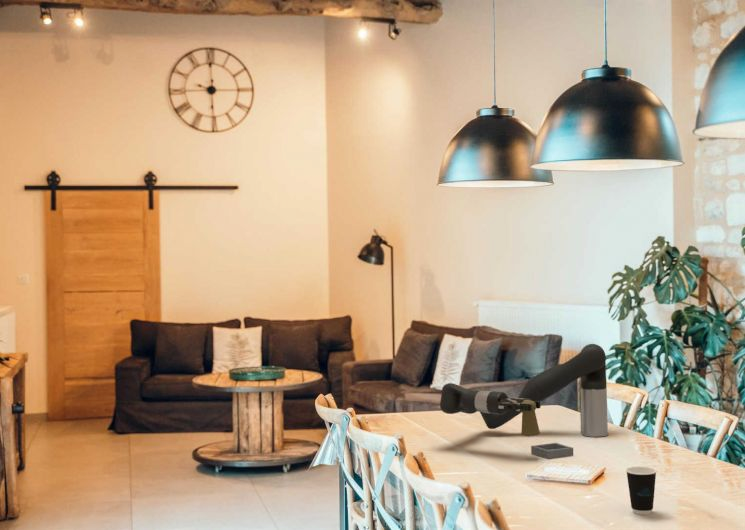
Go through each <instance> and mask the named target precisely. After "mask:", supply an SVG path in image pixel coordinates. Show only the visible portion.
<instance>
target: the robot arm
mask: <svg viewBox="0 0 745 530" xmlns="http://www.w3.org/2000/svg"><path fill="white" fill-rule="evenodd" d="M606 356H607V355H606V352H605V350H604V349H603V348H602V346H600V345H599V344H596V343H589V344H586V345H585V346H583V348H581V350H580V351H579V353H577V354H576V355H574V356H573V357H572V358H570V359H569V360H567V361H565V362H563V363H561V364H558V365H555V366H553V367H550V368H548V369H545V370H544V371H541V372H539V373H537V374H535V376H532V377H531V378H529V379H528V380H527V382H526V383H525V385H524V386H523V388H522V390H521V391H520V393H519V396H518V397H511V396H510V397H508V395H507V393H505V392H504V391H495V390H493V391H492V390H474V389H473V390H472V389H468V388H465V387H462V386H460V385H458V384H456V383H452V382H449V383H446V384H444V385H443V386H442V389H441V395H440V403H439V407H440V410H441V412H443V413H445V414H447V415H453V414H458V413H460V412H461V413H465V414H470V415H471V414H475V413H477V412H479V413H480V415H481V417H482V419H483V422H484V424H485V425H486V427H487V429H489V430H494V429H497V428H500V427H501V426H503V425H505V424H507V423H508V422H510V421H511V420H513V419H514V418H516V417H517V416H519V415H520V414H522V411H532V405H531V404H523V403H522V402H523V401H534V402H535V404H536V409H538V410H539V409H541V407H542V406H541V405H542V404H541V402H542V401H545V400H546V399H548V398H550V397H552V396H553V395H555V394H557V393H559V392H560V391H561V390H563V389H565V388H566V387H567V386H569V385H570V384H571V383H573V382H575V381H576V380H578V379H580V395H581V396H580V404H581V407H580V409H579V411H580V416H579V417H580V434H581V435H582V436H583V437H593V438H600V437H607V436H608V435H609V431H608V429H609V428H608V395H607V394H608V390H607V389H608V388H607V387H608V385H607V369H606V368H607V365H606V363H607V360H606V359H607V357H606ZM520 404H521V405H520Z"/></svg>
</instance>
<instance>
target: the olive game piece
mask: <svg viewBox="0 0 745 530" xmlns="http://www.w3.org/2000/svg"><path fill="white" fill-rule="evenodd" d="M522 403H523V404H531V405H532V411H522V413H521V434H520V435H521V436H522V437H536V436H539V435H540V434H541V433H540V428H539V423H538V419H537V414H536V409H537V408H536V404H535V402H534V401H523V402H522ZM520 405H521V404H520Z"/></svg>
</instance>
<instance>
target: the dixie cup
mask: <svg viewBox="0 0 745 530" xmlns="http://www.w3.org/2000/svg"><path fill="white" fill-rule="evenodd" d="M625 472H626V476H627V485H628V491H629V498H630V507H631V509H632V512H633V514H637V515H650V514H652V513H653V509H654V501H655V491H656V490H655V488H656V477H657V472H658V470H657V469H656V468H654V467H649V466H630V467H627V468H625Z"/></svg>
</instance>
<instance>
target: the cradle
mask: <svg viewBox="0 0 745 530" xmlns="http://www.w3.org/2000/svg"><path fill="white" fill-rule="evenodd" d="M530 453H531V455H535V456H538V457H541V458H544V459H546V460H551V459H559V458H565V457H572V456H574V447H571V446H568V445H565V444H561V443H558V442H550V443H545V444H543V443H542V444H536V445H531V446H530Z"/></svg>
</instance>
